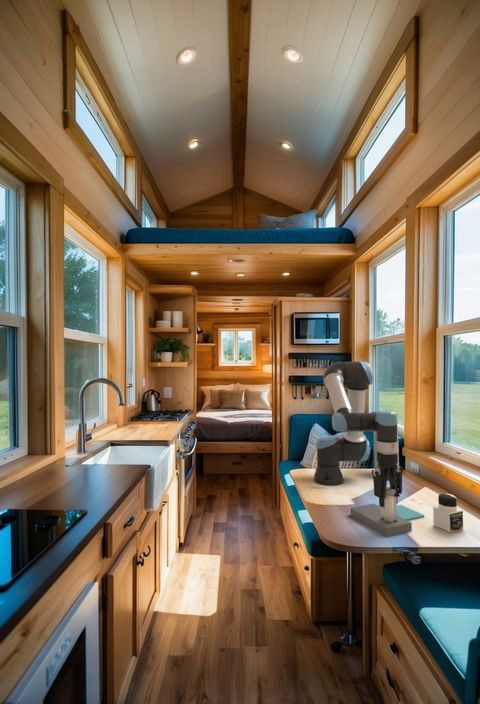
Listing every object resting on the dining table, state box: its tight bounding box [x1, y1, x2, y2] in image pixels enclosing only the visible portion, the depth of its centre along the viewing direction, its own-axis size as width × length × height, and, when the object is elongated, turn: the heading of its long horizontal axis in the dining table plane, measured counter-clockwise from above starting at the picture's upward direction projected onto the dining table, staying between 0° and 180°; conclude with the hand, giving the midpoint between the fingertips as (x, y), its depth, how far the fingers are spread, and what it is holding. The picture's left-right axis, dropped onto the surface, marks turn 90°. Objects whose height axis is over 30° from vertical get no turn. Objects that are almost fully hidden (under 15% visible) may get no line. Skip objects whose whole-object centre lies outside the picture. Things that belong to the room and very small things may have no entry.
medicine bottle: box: [432, 493, 464, 534], centre depth 136 cm, size 7×7×12 cm
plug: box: [383, 486, 395, 523], centre depth 136 cm, size 5×5×14 cm
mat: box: [396, 504, 425, 522], centre depth 148 cm, size 12×12×1 cm
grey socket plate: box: [350, 503, 413, 538], centre depth 140 cm, size 20×12×3 cm, turn 21°
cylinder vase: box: [373, 430, 400, 481], centre depth 197 cm, size 12×12×25 cm
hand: (388, 513), depth 136 cm, fingers closed on plug, 4 cm apart
